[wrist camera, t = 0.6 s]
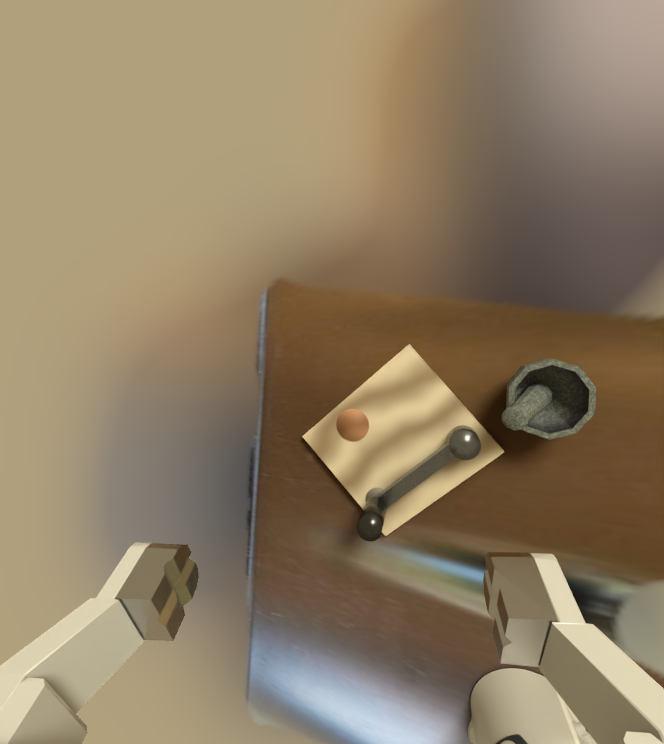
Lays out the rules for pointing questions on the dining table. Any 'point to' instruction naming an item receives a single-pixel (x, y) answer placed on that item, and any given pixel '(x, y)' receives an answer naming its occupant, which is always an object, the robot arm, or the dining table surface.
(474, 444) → the lever
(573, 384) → the mortar and pestle
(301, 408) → the dining table surface
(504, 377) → the dining table surface
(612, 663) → the robot arm
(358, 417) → the lever board
